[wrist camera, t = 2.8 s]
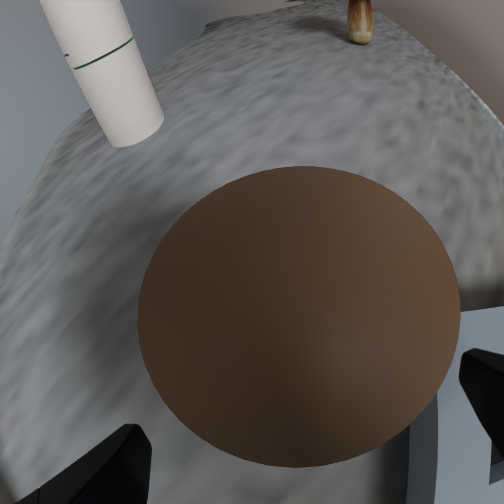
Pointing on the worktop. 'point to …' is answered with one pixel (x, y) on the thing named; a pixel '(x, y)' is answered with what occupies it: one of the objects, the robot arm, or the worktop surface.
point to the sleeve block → (457, 430)
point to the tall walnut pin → (299, 316)
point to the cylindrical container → (107, 67)
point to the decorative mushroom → (360, 21)
